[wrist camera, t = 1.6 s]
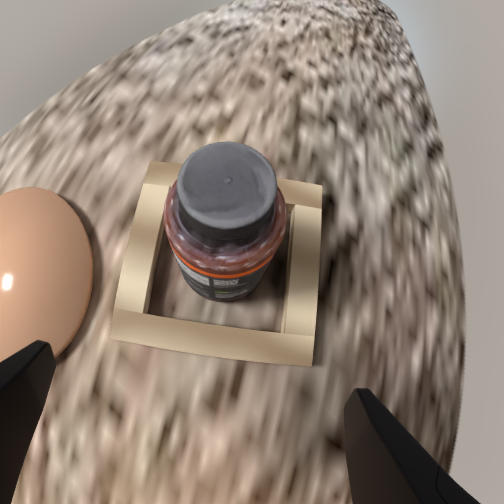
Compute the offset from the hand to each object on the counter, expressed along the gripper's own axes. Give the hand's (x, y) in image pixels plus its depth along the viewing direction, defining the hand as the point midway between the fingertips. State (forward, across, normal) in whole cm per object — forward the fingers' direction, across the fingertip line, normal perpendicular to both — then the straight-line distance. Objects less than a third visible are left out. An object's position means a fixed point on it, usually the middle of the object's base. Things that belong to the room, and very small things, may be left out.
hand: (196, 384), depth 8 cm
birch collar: (+14, 0, +4) cm, 15 cm away
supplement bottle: (+15, 0, +4) cm, 15 cm away
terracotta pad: (+12, +17, +7) cm, 21 cm away
